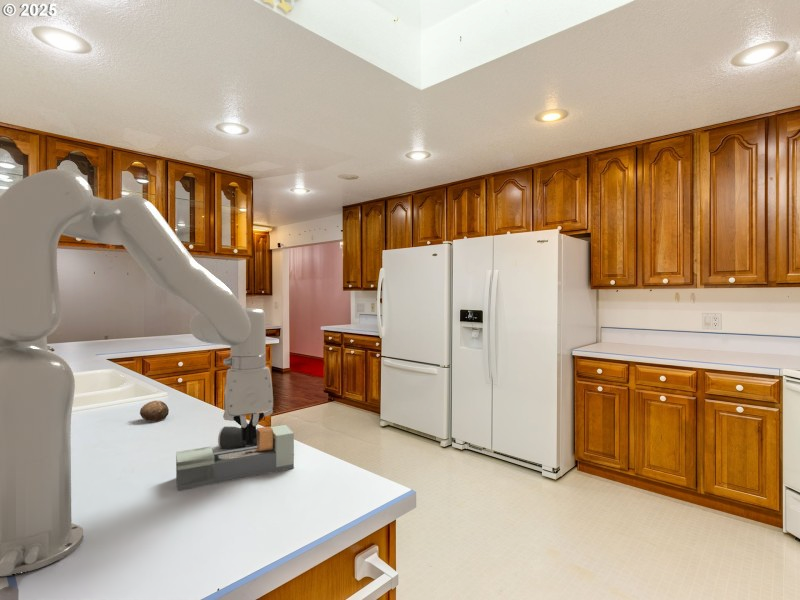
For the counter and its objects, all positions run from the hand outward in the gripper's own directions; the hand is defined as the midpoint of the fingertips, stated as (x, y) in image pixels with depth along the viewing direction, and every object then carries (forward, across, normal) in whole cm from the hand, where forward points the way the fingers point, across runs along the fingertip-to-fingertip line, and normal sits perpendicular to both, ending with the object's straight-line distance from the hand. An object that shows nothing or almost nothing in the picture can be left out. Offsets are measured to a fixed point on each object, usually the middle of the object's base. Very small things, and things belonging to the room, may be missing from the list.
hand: (248, 442), depth 99 cm
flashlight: (+7, +3, +15) cm, 17 cm away
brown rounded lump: (+7, -19, +54) cm, 58 cm away
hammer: (+5, +1, 0) cm, 5 cm away
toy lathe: (+6, -3, 0) cm, 7 cm away
